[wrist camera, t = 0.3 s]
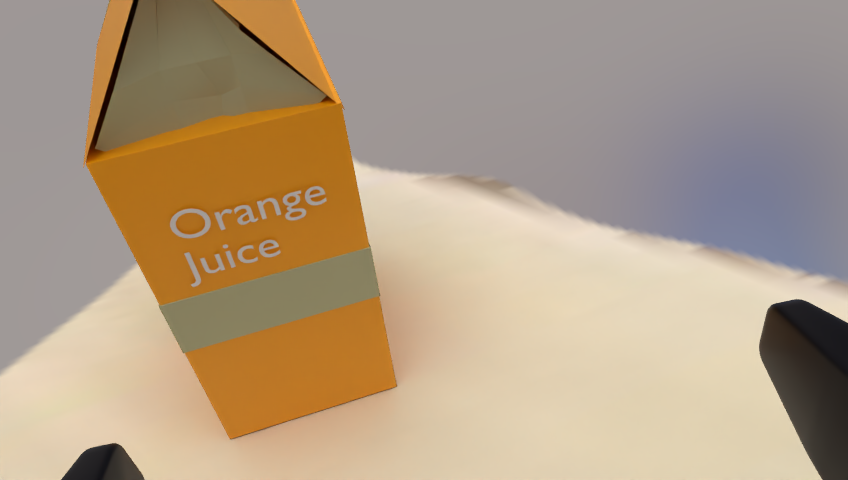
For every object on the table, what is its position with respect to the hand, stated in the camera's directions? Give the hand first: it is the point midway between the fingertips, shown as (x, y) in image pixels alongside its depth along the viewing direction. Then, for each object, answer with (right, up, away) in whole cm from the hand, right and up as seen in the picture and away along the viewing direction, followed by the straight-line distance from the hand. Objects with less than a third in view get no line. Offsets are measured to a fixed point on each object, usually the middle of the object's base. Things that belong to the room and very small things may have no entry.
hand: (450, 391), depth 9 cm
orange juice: (-6, -3, +24) cm, 25 cm away
